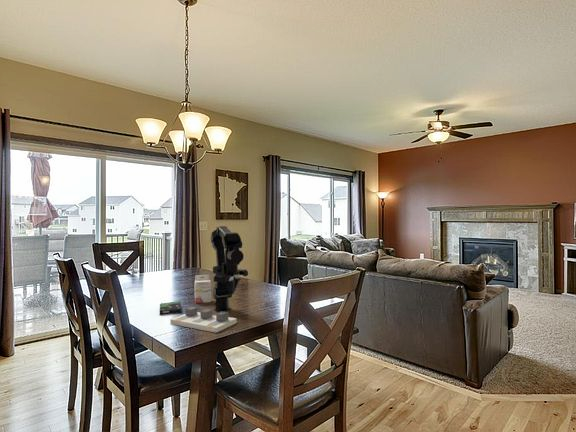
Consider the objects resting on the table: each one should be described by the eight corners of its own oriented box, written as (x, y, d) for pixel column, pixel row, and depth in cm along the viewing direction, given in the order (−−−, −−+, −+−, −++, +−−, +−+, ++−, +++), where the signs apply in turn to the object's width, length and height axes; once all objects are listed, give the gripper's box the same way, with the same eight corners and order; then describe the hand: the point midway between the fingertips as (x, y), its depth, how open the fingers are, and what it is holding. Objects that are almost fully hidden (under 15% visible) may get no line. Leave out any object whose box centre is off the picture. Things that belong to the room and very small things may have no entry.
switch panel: (192, 315, 166) (192, 310, 166) (236, 322, 154) (236, 318, 154) (170, 323, 153) (170, 319, 153) (216, 332, 141) (216, 327, 141)
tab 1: (191, 313, 162) (191, 306, 162) (197, 313, 160) (197, 307, 160) (185, 315, 159) (185, 308, 158) (191, 316, 157) (191, 309, 157)
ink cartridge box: (195, 303, 187) (195, 276, 187) (194, 301, 192) (194, 275, 192) (211, 302, 190) (211, 275, 190) (210, 299, 195) (209, 274, 195)
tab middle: (206, 315, 158) (206, 308, 158) (212, 316, 156) (212, 309, 156) (200, 317, 154) (200, 311, 154) (206, 318, 153) (206, 312, 153)
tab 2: (222, 318, 154) (222, 311, 154) (228, 319, 152) (228, 312, 152) (216, 320, 150) (216, 313, 150) (222, 321, 149) (222, 314, 149)
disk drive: (181, 314, 170) (180, 306, 184) (181, 308, 170) (180, 300, 184) (159, 316, 167) (159, 308, 181) (159, 310, 167) (159, 302, 180)
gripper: (229, 256, 169) (229, 288, 169) (203, 261, 153) (204, 296, 153) (248, 258, 164) (248, 290, 164) (223, 263, 147) (224, 299, 148)
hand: (231, 294), depth 157 cm, fingers closed
